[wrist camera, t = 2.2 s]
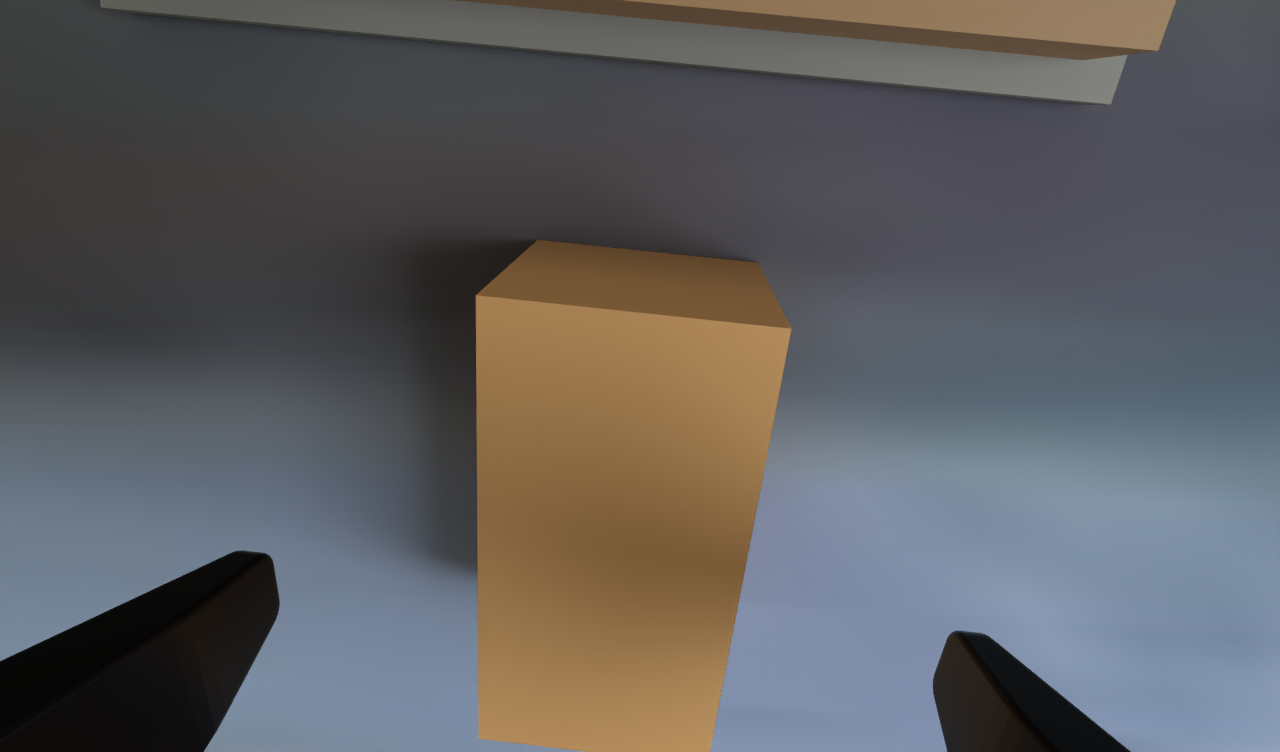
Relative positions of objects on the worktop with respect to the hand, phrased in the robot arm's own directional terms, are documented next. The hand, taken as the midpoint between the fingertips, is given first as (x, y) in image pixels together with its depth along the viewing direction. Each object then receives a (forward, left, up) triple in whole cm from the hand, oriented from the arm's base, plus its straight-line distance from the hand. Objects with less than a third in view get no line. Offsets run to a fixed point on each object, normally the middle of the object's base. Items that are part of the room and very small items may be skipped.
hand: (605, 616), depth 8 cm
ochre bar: (0, 0, -5) cm, 5 cm away
